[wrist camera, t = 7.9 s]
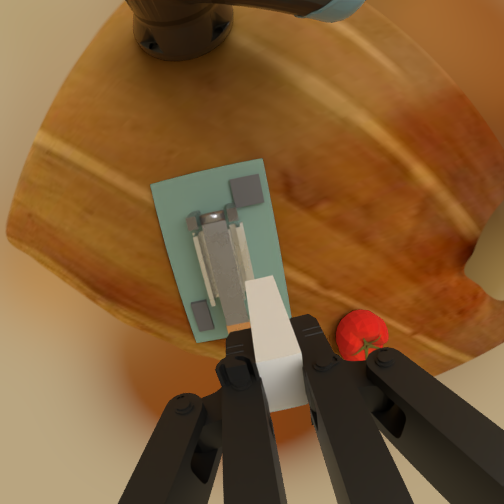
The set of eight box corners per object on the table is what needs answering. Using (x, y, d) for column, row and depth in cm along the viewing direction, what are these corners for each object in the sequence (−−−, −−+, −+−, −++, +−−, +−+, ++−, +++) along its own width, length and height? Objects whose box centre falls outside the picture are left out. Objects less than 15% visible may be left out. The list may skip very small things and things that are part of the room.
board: (152, 184, 38) (148, 184, 36) (261, 158, 39) (263, 157, 37) (197, 339, 46) (196, 345, 44) (290, 319, 46) (293, 325, 44)
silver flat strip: (199, 214, 35) (197, 215, 34) (224, 208, 35) (223, 209, 34) (231, 340, 39) (231, 345, 38) (253, 336, 39) (254, 341, 38)
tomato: (352, 296, 46) (370, 316, 39) (383, 316, 48) (402, 336, 41) (319, 337, 48) (332, 362, 41) (352, 354, 50) (367, 377, 43)
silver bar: (188, 212, 39) (181, 220, 33) (241, 200, 39) (243, 206, 33) (217, 320, 44) (216, 343, 38) (264, 311, 44) (270, 332, 38)
